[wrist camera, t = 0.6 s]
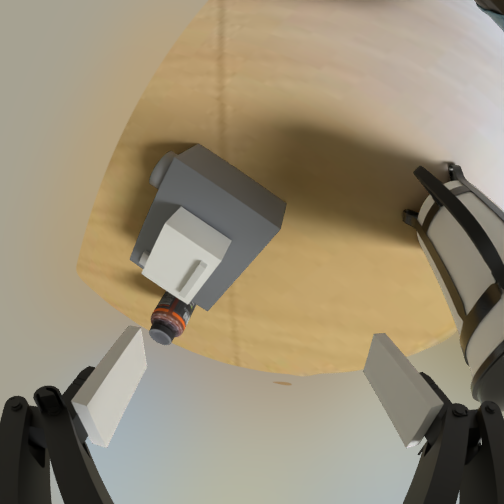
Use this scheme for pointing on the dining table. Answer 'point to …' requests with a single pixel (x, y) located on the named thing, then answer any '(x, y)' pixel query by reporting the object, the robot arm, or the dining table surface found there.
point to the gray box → (212, 212)
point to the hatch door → (185, 255)
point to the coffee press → (467, 271)
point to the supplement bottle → (170, 318)
